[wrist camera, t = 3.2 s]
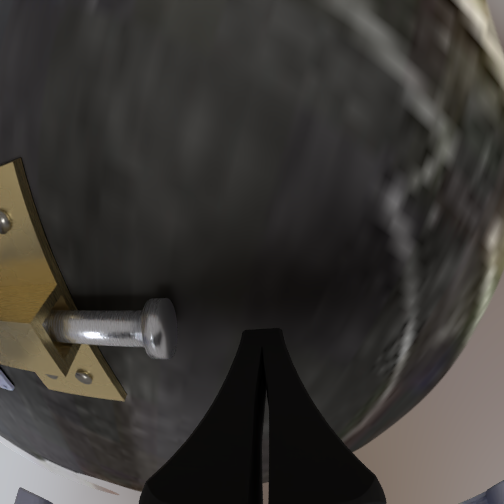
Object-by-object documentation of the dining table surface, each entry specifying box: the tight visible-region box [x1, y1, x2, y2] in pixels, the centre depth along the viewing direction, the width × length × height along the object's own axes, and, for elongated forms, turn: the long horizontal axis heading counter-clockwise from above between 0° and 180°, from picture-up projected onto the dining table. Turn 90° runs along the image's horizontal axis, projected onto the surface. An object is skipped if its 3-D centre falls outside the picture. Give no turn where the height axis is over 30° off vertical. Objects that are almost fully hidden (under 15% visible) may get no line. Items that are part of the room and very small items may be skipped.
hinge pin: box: [42, 298, 178, 359], centre depth 13 cm, size 9×3×3 cm, turn 95°
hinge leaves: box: [0, 158, 127, 401], centre depth 13 cm, size 7×16×3 cm, turn 5°
